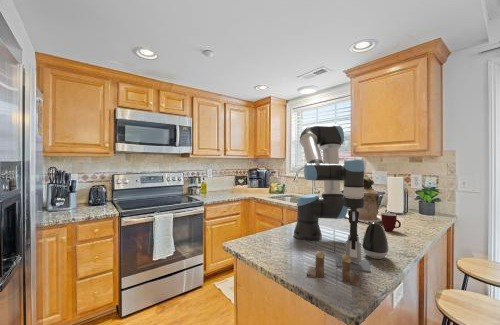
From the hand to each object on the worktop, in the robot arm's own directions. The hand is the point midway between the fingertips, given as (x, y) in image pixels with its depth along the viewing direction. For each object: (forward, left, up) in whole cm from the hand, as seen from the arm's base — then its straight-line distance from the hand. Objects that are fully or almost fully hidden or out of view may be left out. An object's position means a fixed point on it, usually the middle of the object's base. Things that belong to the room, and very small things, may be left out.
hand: (353, 254), depth 95 cm
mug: (+22, +61, -4) cm, 65 cm away
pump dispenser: (+9, +13, -4) cm, 16 cm away
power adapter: (0, 0, -2) cm, 2 cm away
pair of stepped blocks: (-7, -14, -4) cm, 16 cm away
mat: (0, 0, -4) cm, 4 cm away
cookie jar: (+9, +90, -5) cm, 91 cm away
